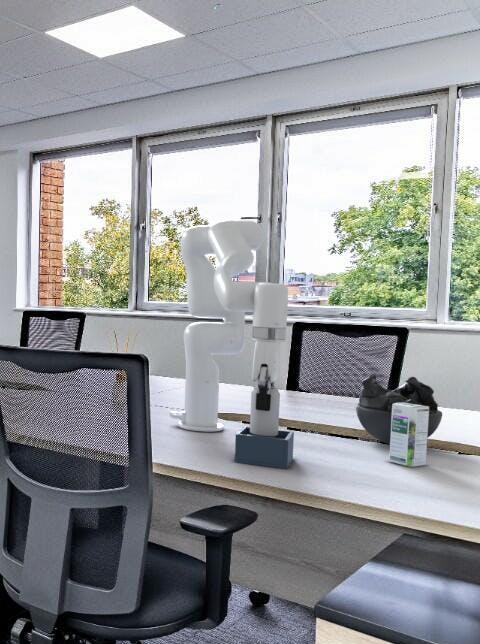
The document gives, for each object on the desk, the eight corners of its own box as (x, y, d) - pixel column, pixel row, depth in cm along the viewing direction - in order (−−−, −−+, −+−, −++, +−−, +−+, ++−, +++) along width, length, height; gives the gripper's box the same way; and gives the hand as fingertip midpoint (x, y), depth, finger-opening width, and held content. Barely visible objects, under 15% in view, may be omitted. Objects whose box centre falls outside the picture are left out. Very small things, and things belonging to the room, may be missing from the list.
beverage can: (280, 439, 166) (283, 390, 165) (252, 438, 167) (254, 388, 167) (274, 433, 172) (277, 385, 171) (247, 432, 174) (249, 384, 173)
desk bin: (234, 462, 168) (235, 434, 167) (242, 452, 177) (243, 426, 177) (287, 469, 162) (288, 440, 161) (292, 458, 172) (293, 431, 171)
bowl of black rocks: (459, 451, 183) (463, 380, 182) (399, 455, 177) (403, 381, 176) (392, 435, 202) (396, 371, 201) (337, 438, 196) (340, 372, 195)
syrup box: (387, 461, 170) (390, 403, 169) (404, 459, 173) (407, 401, 172) (410, 467, 165) (413, 406, 164) (427, 465, 167) (430, 405, 167)
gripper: (257, 331, 177) (254, 400, 179) (246, 336, 162) (242, 411, 164) (290, 333, 174) (286, 404, 175) (281, 338, 159) (277, 415, 160)
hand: (265, 407), depth 169 cm, fingers closed on beverage can, 6 cm apart
